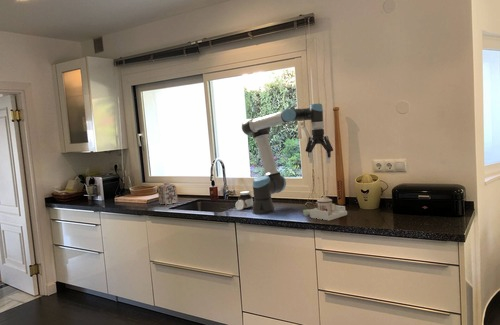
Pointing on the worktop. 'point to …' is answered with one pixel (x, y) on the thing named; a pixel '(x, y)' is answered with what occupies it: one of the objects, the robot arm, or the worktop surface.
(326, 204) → the teacup with lid
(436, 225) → the worktop surface
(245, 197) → the spread jar
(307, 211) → the clip
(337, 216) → the end holder
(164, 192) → the decorative jar
